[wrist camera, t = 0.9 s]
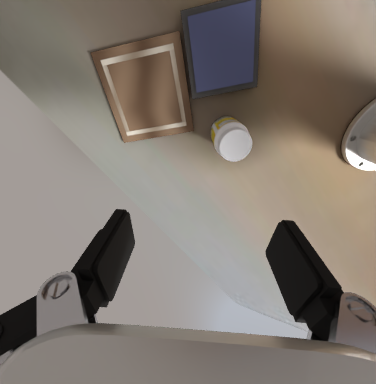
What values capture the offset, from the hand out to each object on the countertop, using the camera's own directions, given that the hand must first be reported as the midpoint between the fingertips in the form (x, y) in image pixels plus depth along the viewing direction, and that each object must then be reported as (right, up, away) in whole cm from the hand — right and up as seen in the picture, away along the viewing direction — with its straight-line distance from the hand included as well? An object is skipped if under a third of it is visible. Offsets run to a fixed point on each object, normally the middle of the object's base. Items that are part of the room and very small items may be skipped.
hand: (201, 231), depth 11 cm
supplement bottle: (+5, +13, +17) cm, 22 cm away
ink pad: (+4, +21, +11) cm, 24 cm away
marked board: (-7, +17, +14) cm, 23 cm away
